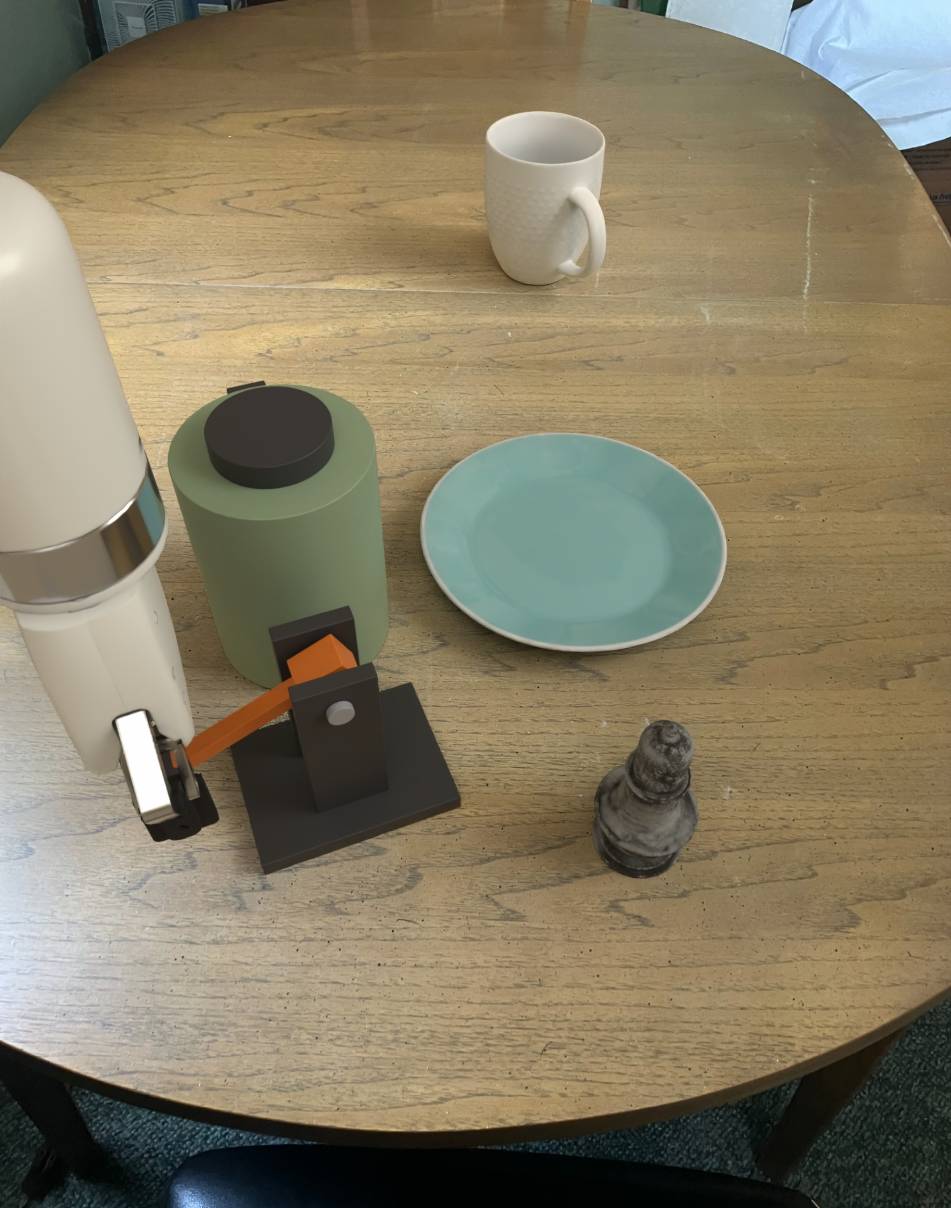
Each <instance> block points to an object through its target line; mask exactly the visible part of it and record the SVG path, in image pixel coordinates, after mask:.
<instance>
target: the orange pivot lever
mask: <svg viewBox="0 0 951 1208" xmlns="http://www.w3.org/2000/svg"><path fill="white" fill-rule="evenodd" d="M287 664H288V667H289V670H290V673H291V676H292V677H291V678H289V679H288V680H286V681H284V682H283V683H281V684H279V685H278V686H276V687H274V688H273V689H269V690H268V691H266V692H265V693H263V694H262V695H260V696H258V697H257V698H255V699H253V700H251V701H249V702H248V703H247V704H245V705H244V706H242V707H240V708H239V709H237V710H235V711H233V712H232V713H230V714H229V715H227V716H226V717H224V718H223V719H220V720H219V721H218V722H216V723H213V724H212V725H210V726H209V727H208V728H206V729H204V730H203V731H201V732H199V733H197V734H195V735H194V737H193V739H192V741H191V742H190V744H189V745H188V746H187V747H186V749H187V752H188V755H189V758H190V761H191V764H192V768H193V769H194V768H197V767H198V766H199V765H201V764H204V762H206V761H208V760H209V759H211V758H213V757H214V756H216V755H218V754H219V753H221V752H222V751H224V750H226V749H228V748H230V747H229V746H231V745H232V744H234V743H236V742H237V741H239V740H241V739H242V738H244V737H246V736H247V735H249V734H251V733H252V732H254V731H255V730H257V729H260V728H263V727H265V725H267V724H268V723H270V722H272V721H273V720H275V719H277V718H278V717H280V716H282V715H284V714H285V713H288V710H290V709H292V705H291V701H290V697H289V692H288V687H290V686H293V685H296V684H300V683H303V682H306V681H310V680H313V679H316V678H320V677H323V676H326V675H330V674H333V673H336V672H340V671H343V670H346V669H350V668H353V667H356V666H357V664H356V661H355V658H354V656H353V653H352V652H351V651H350V650H348V649H347V648H346V647H345V646H344V645H343V644H342V643H341V642H339V641H338V640H337V639H336V638H335V637H334V636H333V635H332V634H329V635H327V636H326V637H324V638H322V639H321V640H319V641H318V642H316V643H314V644H313V645H311V646H309V647H308V648H306V649H305V650H303V651H301V652H300V653H298V654H296V655H295V656H293V657H292V658H290V659H288V660H287ZM152 727H153V730H154V734H155V736H157V735H160V734H161V733H159V731H158V729H157V726H156V724H154V725H152ZM160 755H161V758H162V762H163V766H164V769H165V773H166V776H167V777H169V776H172V775H175V774H178V773H179V771H178V768H177V765H176V762H175V759H174V756H173V753H172V751H169V752H166V753H162V754H160Z"/></svg>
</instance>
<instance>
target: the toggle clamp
mask: <svg viewBox="0 0 951 1208" xmlns="http://www.w3.org/2000/svg"><path fill="white" fill-rule="evenodd" d="M268 631H269V635H270V639H271V643H272V647H273V651H274V656H275V660H276V664H277V668H278V672H279V677H280V681H281V683H283V682H284V681H286V680H288V679H289V678H291V677H292V676H291V673H290V670H289V667H288V664H287V660H288V659H290V658H292V657H293V656H295V655H296V654H298V653H300V652H301V651H303V650H305V649H306V648H308V647H309V646H311V645H313V644H314V643H316V642H318V641H319V640H321V639H322V638H324V637H326V636H327V635H329V634H332V635H333V636H334V637H335V638H336V639H337V640H338V641H339V642H341V643H342V644H343V645H344V646H345V647H346V648H347V649H348V650H350V651H351V652H352V653H353V656H354V658H355V661H356V664H357V666H356V667H353V668H350V669H346V670H343V671H340V672H336V673H333V674H330V675H326V676H323V677H320V678H316V679H313V680H310V681H306V682H303V683H300V684H296V685H293V686H290V687H288V692H289V697H290V701H291V705H292V709H290V710H288V711H287V715H288V719H287V720H283V721H279V722H277V723H274V724H269V725H267V726H262V727H260V728H259V729H257V730H255V731H254V732H252V733H251V734H249V735H247V736H246V737H244V738H242V739H241V740H239V741H237V742H236V743H234V744H232V745H231V746H229V747H228V748H229V750H230V754H231V757H232V761H233V765H234V769H235V772H236V776H237V780H238V784H239V788H240V790H241V794H242V798H243V802H244V807H245V810H246V813H247V817H248V821H249V824H250V828H251V833H252V836H253V840H254V843H255V847H256V850H257V854H258V858H259V861H260V865H261V869H262V871H263V874H264V875H265V876H266V875H269V874H272V873H275V872H278V871H280V870H284V869H287V868H290V867H293V866H295V865H298V864H301V863H303V862H307V861H309V860H312V859H315V858H319V857H321V856H323V855H326V854H330V853H332V852H335V851H338V850H341V849H344V848H346V847H350V846H352V845H355V844H358V843H361V842H364V841H366V840H369V839H373V838H375V837H378V836H381V835H384V834H387V833H389V832H393V831H396V830H398V829H402V828H404V827H407V826H409V825H413V824H415V823H418V822H421V821H424V820H427V819H430V818H432V817H436V816H438V815H441V814H444V813H447V812H449V811H453V810H455V809H458V808H460V807H461V806H462V796H461V794H460V792H459V790H458V787H457V785H456V782H455V779H454V778H453V775H452V772H451V770H450V768H449V766H448V764H447V762H446V759H445V757H444V754H443V752H442V749H441V747H440V745H439V743H438V741H437V738H436V735H435V734H434V731H433V729H432V726H431V724H430V722H429V720H428V717H427V715H426V713H425V710H424V708H423V706H422V704H421V701H420V699H419V697H418V693H417V691H416V690H415V686H414V685H413V682H411V681H409V682H406V683H403V684H400V685H397V686H393V687H390V688H387V689H383V690H380V683H379V675H378V673H377V670H376V668H375V666H374V663H373V661H372V662H370V663H366V664H363V665H360V660H359V652H358V644H357V636H356V628H355V620H354V616H353V614H352V611H351V609H350V606H344V607H341V608H337V609H334V610H330V611H327V612H323V613H320V614H316V615H313V616H309V617H305V618H302V619H298V620H295V621H291V622H288V623H284V624H281V625H277V626H274V627H270V628H269V629H268Z"/></svg>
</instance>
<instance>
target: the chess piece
mask: <svg viewBox="0 0 951 1208" xmlns="http://www.w3.org/2000/svg"><path fill="white" fill-rule="evenodd" d="M694 753H695V742H694V738H693V735H692V733H690V731H689V730H688V729H687V728H686V727H685V726H683V725H682V724H680V723H678V722H676V721H674V720H670V719H660V720H654V721H653V722H651V723H649V724H648V725H647V726H646V727H645V728H644V729H643V730H642V732H641V734H640V737H639V740H638V744H637V747H636V748H634V749H633V750H632V751H631V752H630V753H629V754H628V756H627V758H626V759H625V763H624V764H620V765H618V766H617V767H615V768H613V769H611V770H610V771H608V772H607V773H606V774H605V775H604V776H603V777H602V779H601V780H600V782H599V784H598V785H597V787H596V790H595V794H594V798H593V807H594V808H593V810H594V815H595V817H594V819H593V824H592V828H591V829H592V830H591V832H592V833H591V835H592V843H593V845H594V848H595V851H596V852H597V854H598V856H599V857H600V858H601V860H602V861H603V862H604V863H605V864H606V865H607V866H608V867H609V868H610V869H612V870H613V871H615V872H617V873H619V874H620V875H622V876H626V877H629V878H634V879H650V878H654V877H659V876H660V875H662V874H664V873H666V872H667V871H669V870H670V869H671V868H672V867H673V866H674V865H675V863H676V862H677V860H678V858H679V857H680V854H681V853H682V849H683V848H684V847H685V846H686V845H687V844H688V843H689V842H690V841H691V840H692V838H693V836H694V834H695V832H696V831H697V828H698V823H699V817H700V814H699V805H698V801H697V798H696V797H695V795H694V792H693V790H692V789H691V788H690V786H691V782H692V772H691V767H690V766H691V764H692V760H693V758H694V755H695V754H694Z"/></svg>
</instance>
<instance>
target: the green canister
mask: <svg viewBox="0 0 951 1208" xmlns="http://www.w3.org/2000/svg"><path fill="white" fill-rule="evenodd" d="M376 443H377V442H376V437H375V432H374V429H373V427H372V425H371V423H370V422H369V420H368V419H367V417H366V416H365V414H364V413H363V412H362V411H361V410H360V409H359V408H358V407H356V405H355V404H353V403H352V402H350V401H349V400H348V399H346V398H344V397H342V396H339V394H335V392H334V393H333V392H330V391H327V390H325V389H321V388H318V387H313V386H308V385H301V384H290V383H285V384H281V383H280V384H278V383H277V384H266V381H265V380H258V381H254V382H249V383H245V384H240V385H235V386H230V387H227V388H226V394H224V395H223V396H222V395H221V396H220V397H218V398H216V399H213V400H212V401H210V402H208V403H206V404H205V405H203V406H202V407H200V408H199V409H197V410H196V411H195V412H194V413H192V414H190V416H189V417H188V418H186V419H185V420H184V422H183V423H182V424H181V425H180V427H179V428H178V429H177V431H176V432H175V434H174V436H173V438H172V439H171V442H170V444H169V449H168V452H167V468H168V474H169V476H170V480H171V484H172V487H173V490H174V493H175V496H176V499H177V503H178V506H179V509H180V512H181V516H182V519H183V522H184V526H185V529H186V532H187V536H188V539H189V542H190V545H191V549H192V553H193V555H194V556H193V557H194V559H195V562H196V565H197V569H198V571H199V576H200V578H201V582H202V584H203V589H204V591H205V595H206V598H207V601H208V605H209V607H210V611H211V615H212V618H213V621H214V625H215V628H216V630H217V631H216V632H217V634H218V637H219V640H220V644H221V647H222V650H223V653H224V655H225V657H226V659H227V660H228V662H229V664H231V666H232V667H233V668H234V669H235V670H236V671H237V672H238V673H239V674H240V675H241V676H242V677H244V678H245V679H247V680H248V681H249V682H251V683H254V684H256V685H258V686H260V687H262V688H265V689H269V690H271V689H273V688H274V687H276V686H278V685H279V684H281V681H280V677H279V672H278V668H277V664H276V660H275V656H274V651H273V647H272V643H271V639H270V635H269V631H268V629H269V628H270V627H274V626H277V625H281V624H284V623H288V622H291V621H295V620H298V619H302V618H305V617H309V616H313V615H316V614H320V613H323V612H327V611H330V610H334V609H337V608H341V607H344V606H350V609H351V611H352V614H353V616H354V620H355V628H356V636H357V644H358V652H359V660H360V665H363V664H366V663H370V662H372V663H373V661H374V660H375V659H376V658H377V656H378V655H379V653H381V650H382V648H383V647H384V645H385V643H386V640H387V637H388V635H389V629H390V608H389V606H390V605H389V596H388V594H389V593H388V583H387V582H388V581H387V570H386V558H385V545H384V532H383V519H382V518H383V517H382V508H381V494H380V481H379V471H378V470H379V469H378V458H377V457H378V456H377V444H376Z"/></svg>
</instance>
